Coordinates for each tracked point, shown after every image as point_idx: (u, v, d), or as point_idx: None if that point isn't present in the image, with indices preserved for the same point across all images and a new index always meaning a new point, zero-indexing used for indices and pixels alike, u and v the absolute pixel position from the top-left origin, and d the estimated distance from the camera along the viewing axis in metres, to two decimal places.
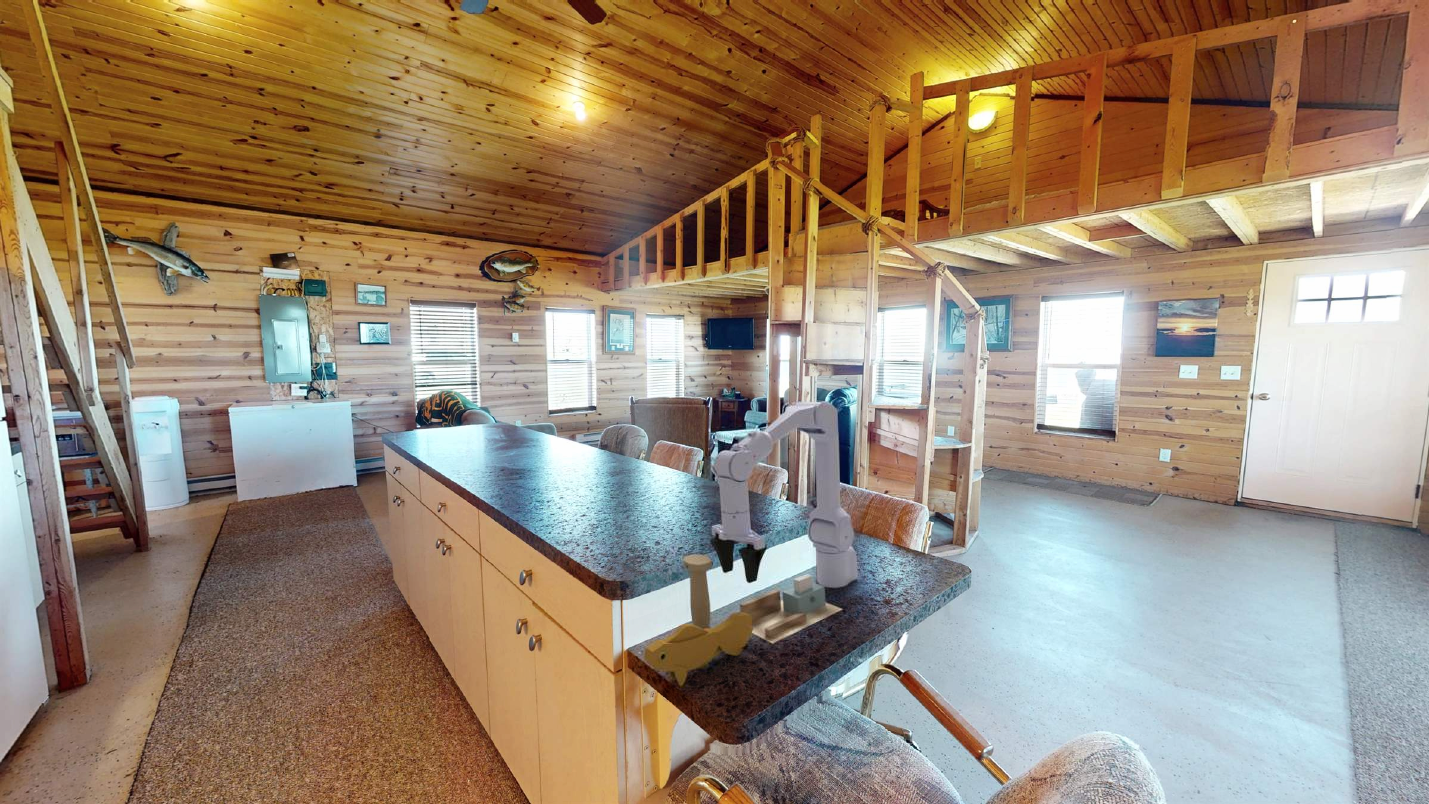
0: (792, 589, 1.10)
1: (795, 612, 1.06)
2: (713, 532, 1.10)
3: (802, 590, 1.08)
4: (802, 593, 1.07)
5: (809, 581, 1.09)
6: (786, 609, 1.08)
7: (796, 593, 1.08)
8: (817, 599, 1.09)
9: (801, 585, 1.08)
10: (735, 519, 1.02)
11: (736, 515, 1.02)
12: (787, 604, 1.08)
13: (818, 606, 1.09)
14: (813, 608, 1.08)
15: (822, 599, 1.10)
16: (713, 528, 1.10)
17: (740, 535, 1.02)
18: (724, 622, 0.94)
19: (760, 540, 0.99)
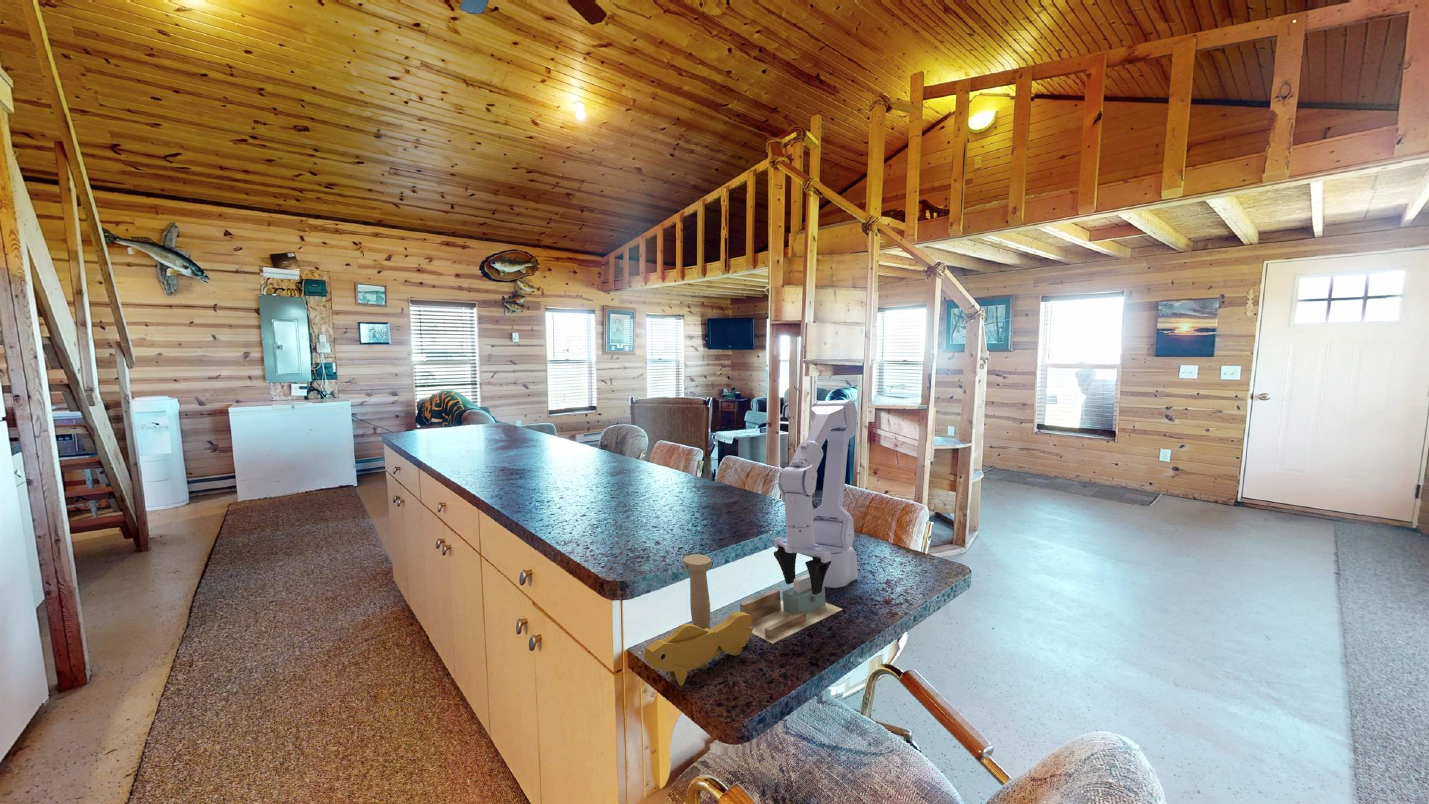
0: (792, 589, 1.10)
1: (795, 612, 1.06)
2: (775, 545, 1.14)
3: (802, 590, 1.08)
4: (802, 593, 1.07)
5: (809, 581, 1.09)
6: (786, 609, 1.08)
7: (796, 593, 1.08)
8: (817, 599, 1.09)
9: (801, 585, 1.08)
10: (801, 533, 1.06)
11: (802, 529, 1.06)
12: (787, 604, 1.08)
13: (818, 606, 1.09)
14: (813, 608, 1.08)
15: (822, 599, 1.10)
16: (775, 541, 1.14)
17: (806, 548, 1.06)
18: (724, 622, 0.94)
19: (827, 554, 1.03)
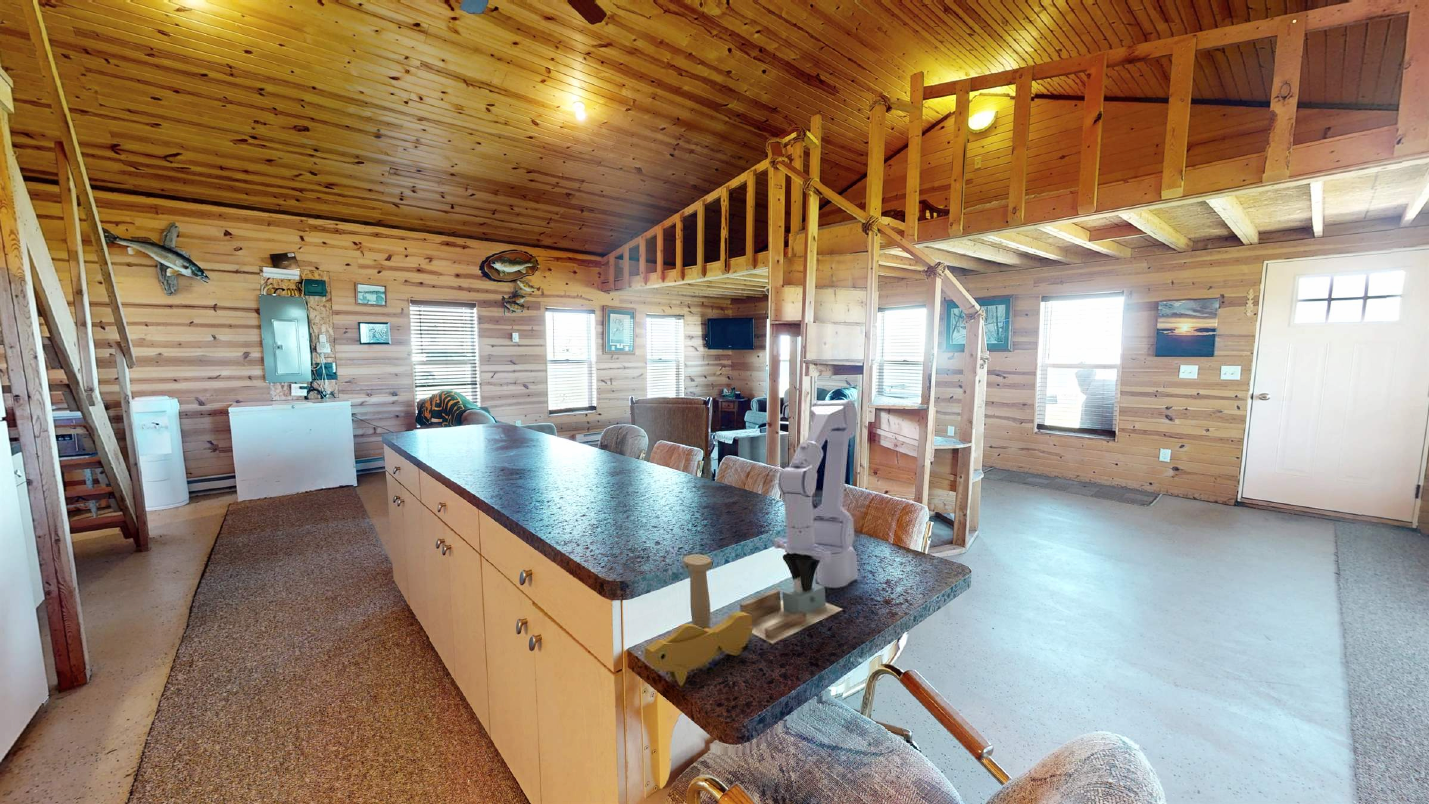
0: (792, 589, 1.10)
1: (795, 612, 1.06)
2: (775, 545, 1.14)
3: (802, 590, 1.08)
4: (802, 593, 1.07)
5: None
6: (786, 609, 1.08)
7: (796, 593, 1.08)
8: (817, 599, 1.09)
9: (801, 585, 1.08)
10: (801, 533, 1.06)
11: (802, 530, 1.06)
12: (787, 604, 1.08)
13: (818, 606, 1.09)
14: (813, 608, 1.08)
15: (822, 599, 1.10)
16: (775, 541, 1.14)
17: (806, 549, 1.06)
18: (724, 622, 0.94)
19: (827, 554, 1.03)
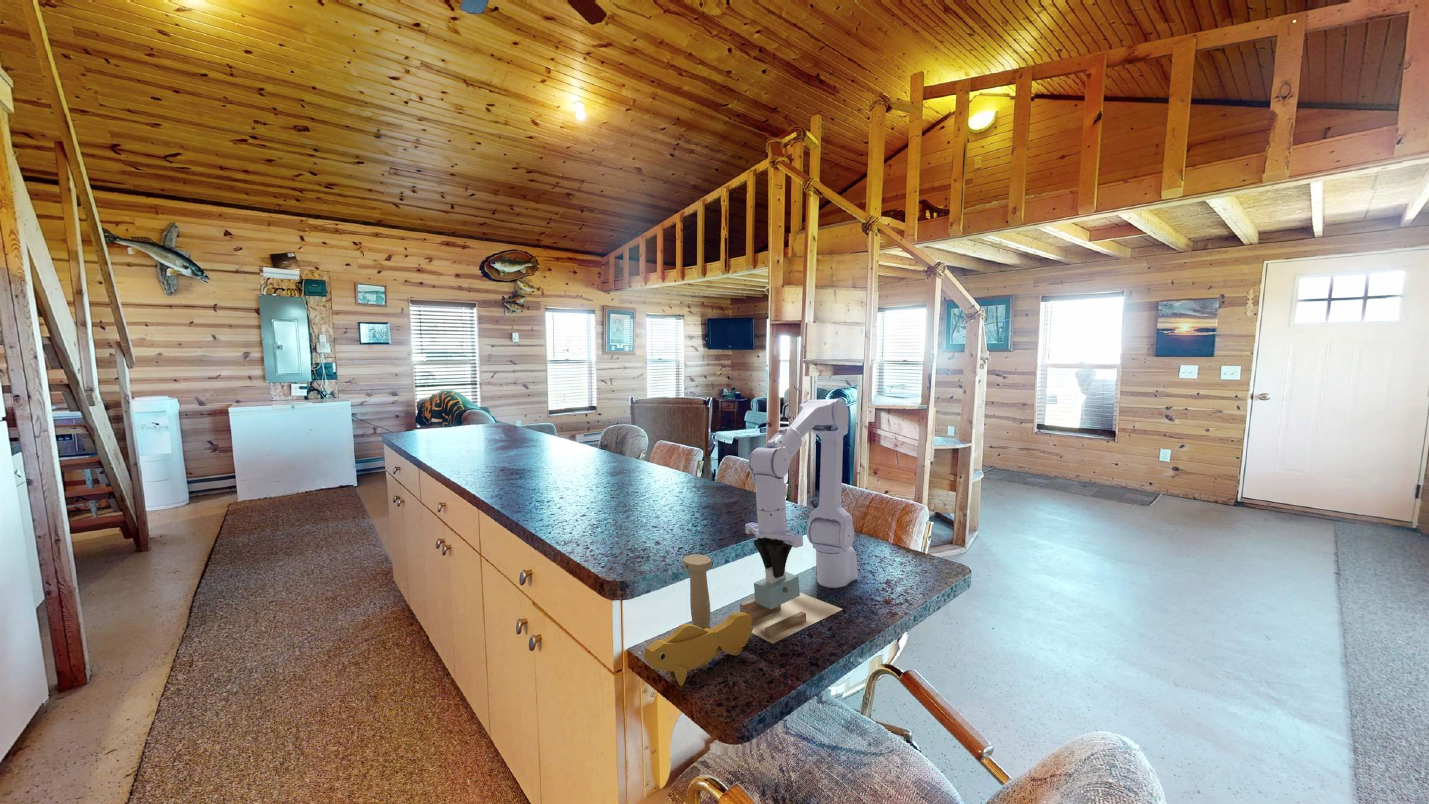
0: (764, 580, 1.04)
1: (767, 604, 1.01)
2: (747, 530, 1.08)
3: (774, 580, 1.03)
4: (773, 584, 1.02)
5: None
6: (758, 601, 1.03)
7: (768, 583, 1.02)
8: (790, 590, 1.03)
9: (773, 575, 1.02)
10: (772, 517, 1.00)
11: (773, 513, 1.00)
12: (759, 596, 1.02)
13: (792, 597, 1.03)
14: (786, 599, 1.02)
15: (796, 589, 1.04)
16: (747, 526, 1.08)
17: (777, 533, 1.01)
18: (724, 622, 0.94)
19: (798, 538, 0.98)
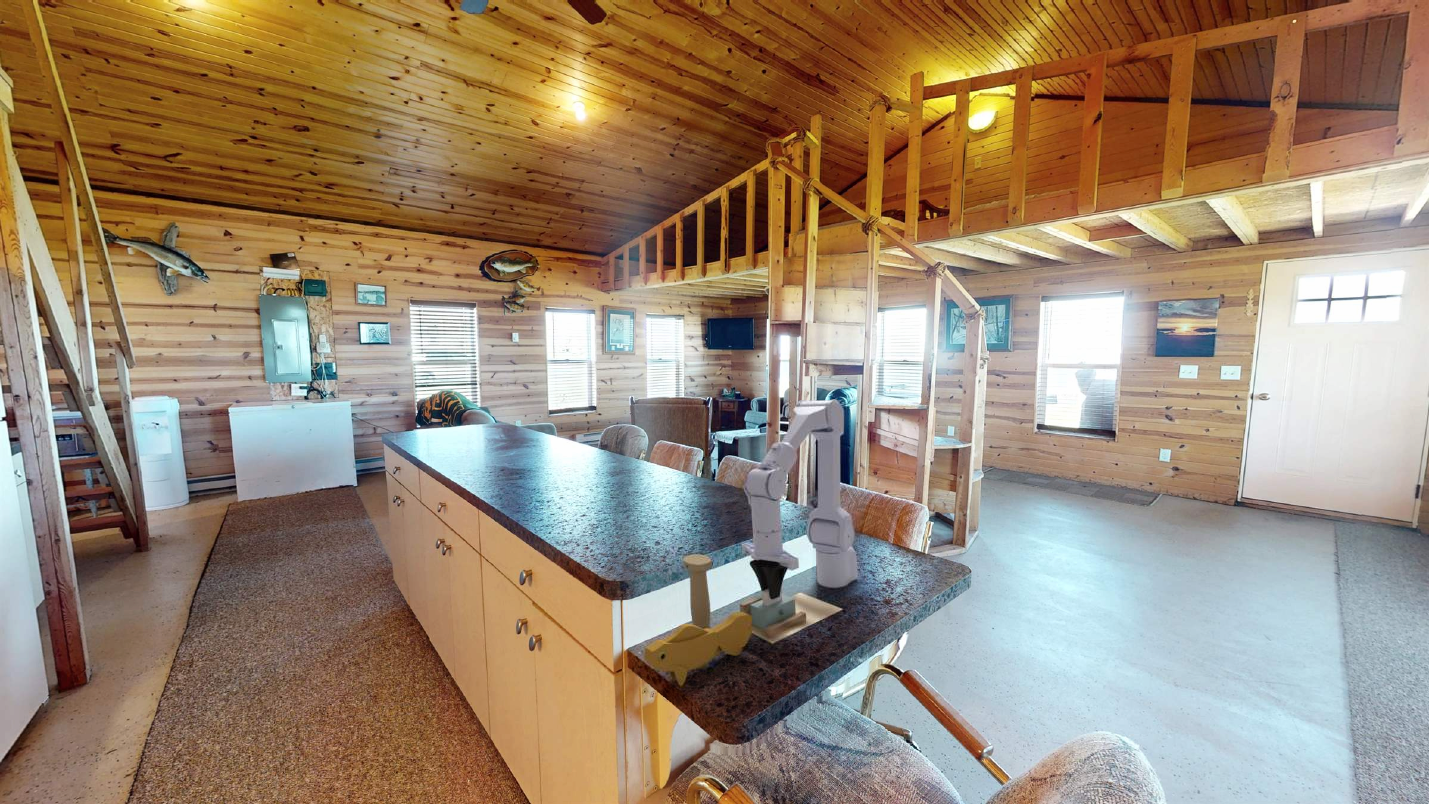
0: (761, 602, 1.04)
1: (763, 626, 1.01)
2: (743, 550, 1.08)
3: (771, 602, 1.03)
4: (770, 606, 1.02)
5: None
6: (754, 623, 1.03)
7: (764, 606, 1.02)
8: (787, 612, 1.03)
9: None
10: (768, 539, 1.01)
11: (769, 535, 1.01)
12: (755, 618, 1.03)
13: None
14: None
15: (792, 612, 1.04)
16: (743, 547, 1.08)
17: (773, 555, 1.01)
18: (724, 622, 0.94)
19: (794, 561, 0.98)
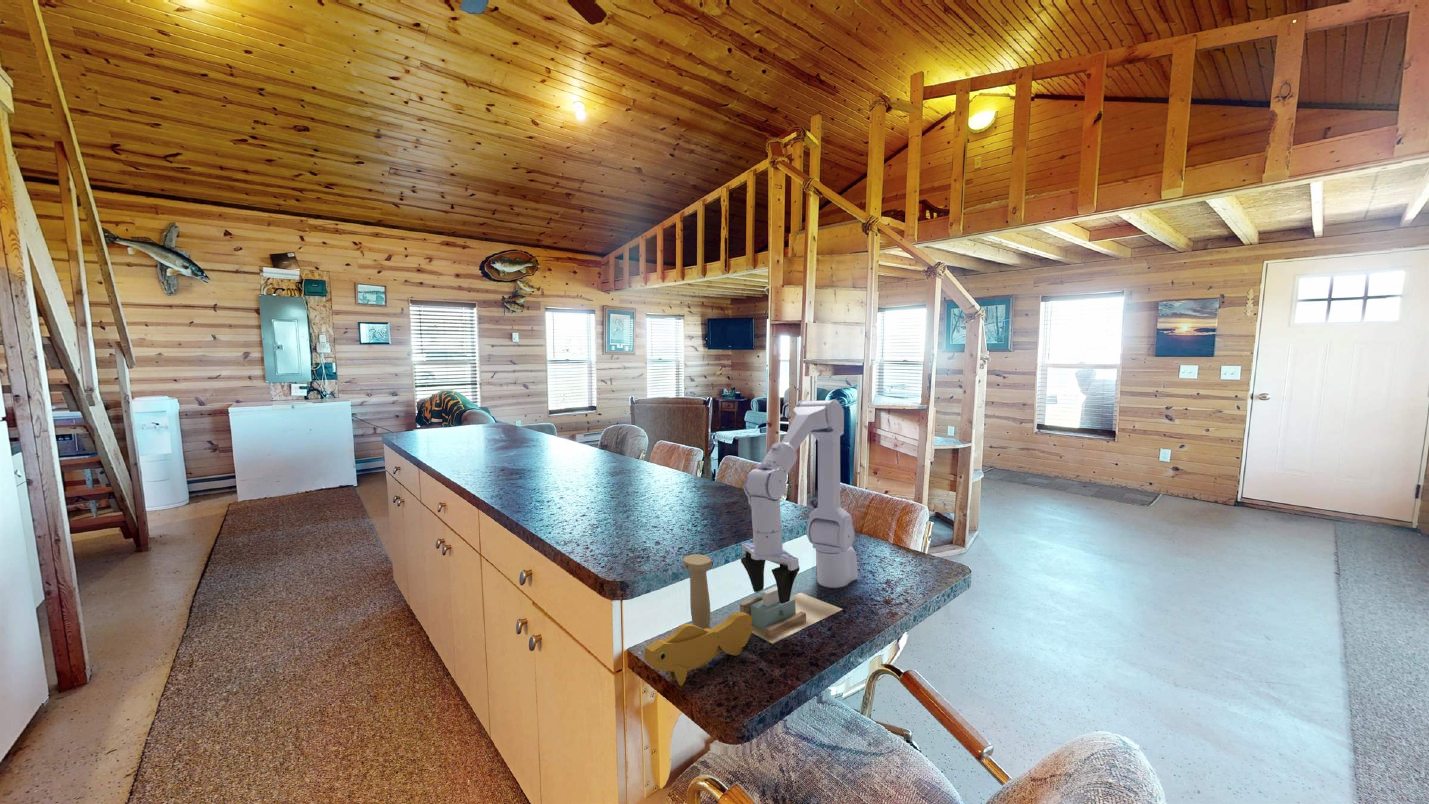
0: (761, 602, 1.04)
1: (763, 627, 1.01)
2: (743, 551, 1.08)
3: (771, 603, 1.03)
4: (770, 606, 1.02)
5: None
6: (754, 623, 1.03)
7: (764, 606, 1.02)
8: (787, 612, 1.03)
9: (770, 598, 1.03)
10: (768, 539, 1.01)
11: (769, 535, 1.01)
12: (755, 618, 1.03)
13: None
14: None
15: (792, 612, 1.04)
16: (743, 547, 1.08)
17: (773, 555, 1.01)
18: (724, 622, 0.94)
19: (794, 561, 0.98)
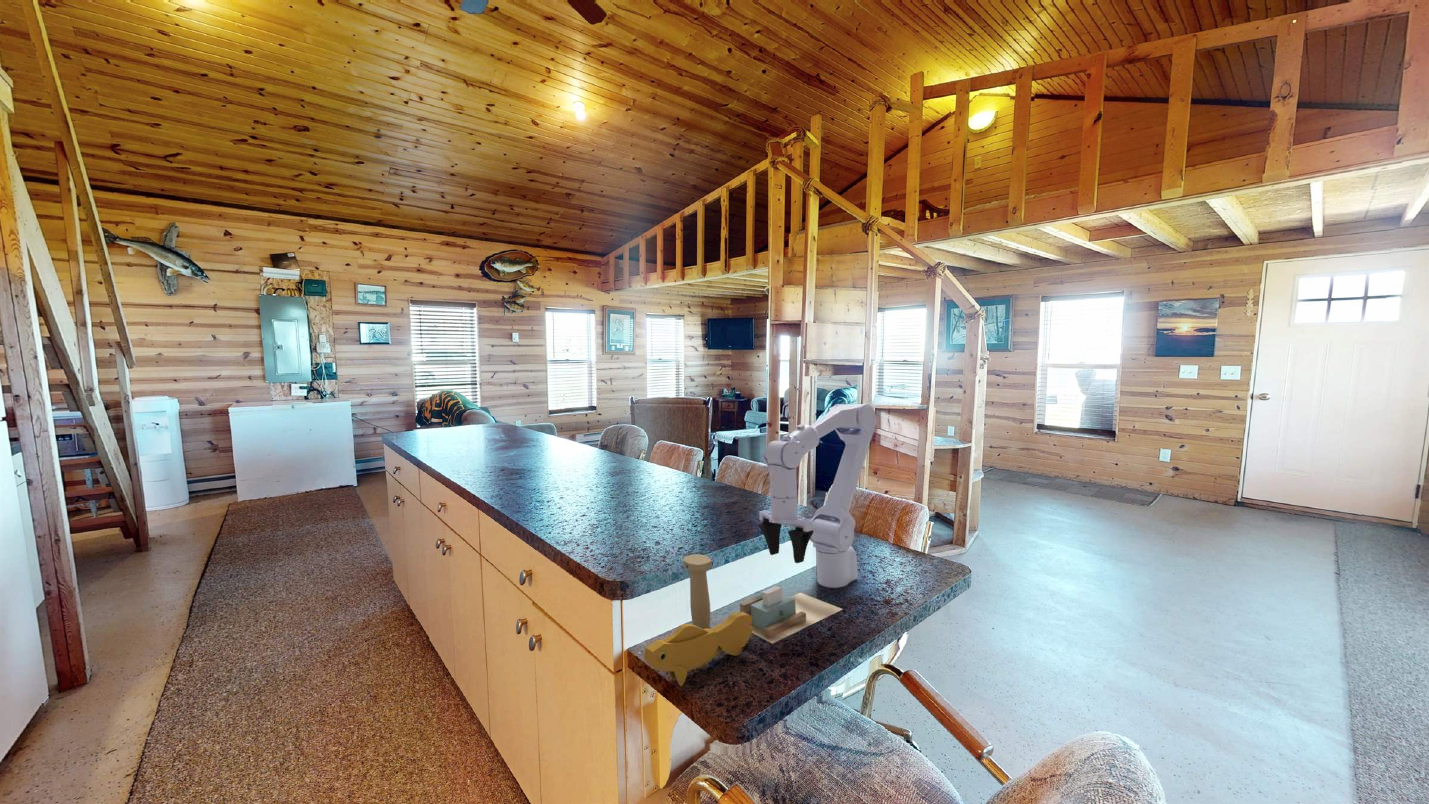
0: (761, 602, 1.04)
1: (763, 627, 1.01)
2: (761, 517, 1.18)
3: (771, 603, 1.03)
4: (770, 606, 1.02)
5: (779, 593, 1.04)
6: (754, 623, 1.03)
7: (764, 606, 1.02)
8: (787, 612, 1.03)
9: (770, 598, 1.03)
10: (785, 504, 1.10)
11: (786, 500, 1.10)
12: (755, 618, 1.03)
13: None
14: None
15: (792, 612, 1.04)
16: (761, 513, 1.18)
17: (789, 519, 1.10)
18: (724, 622, 0.94)
19: (809, 523, 1.07)
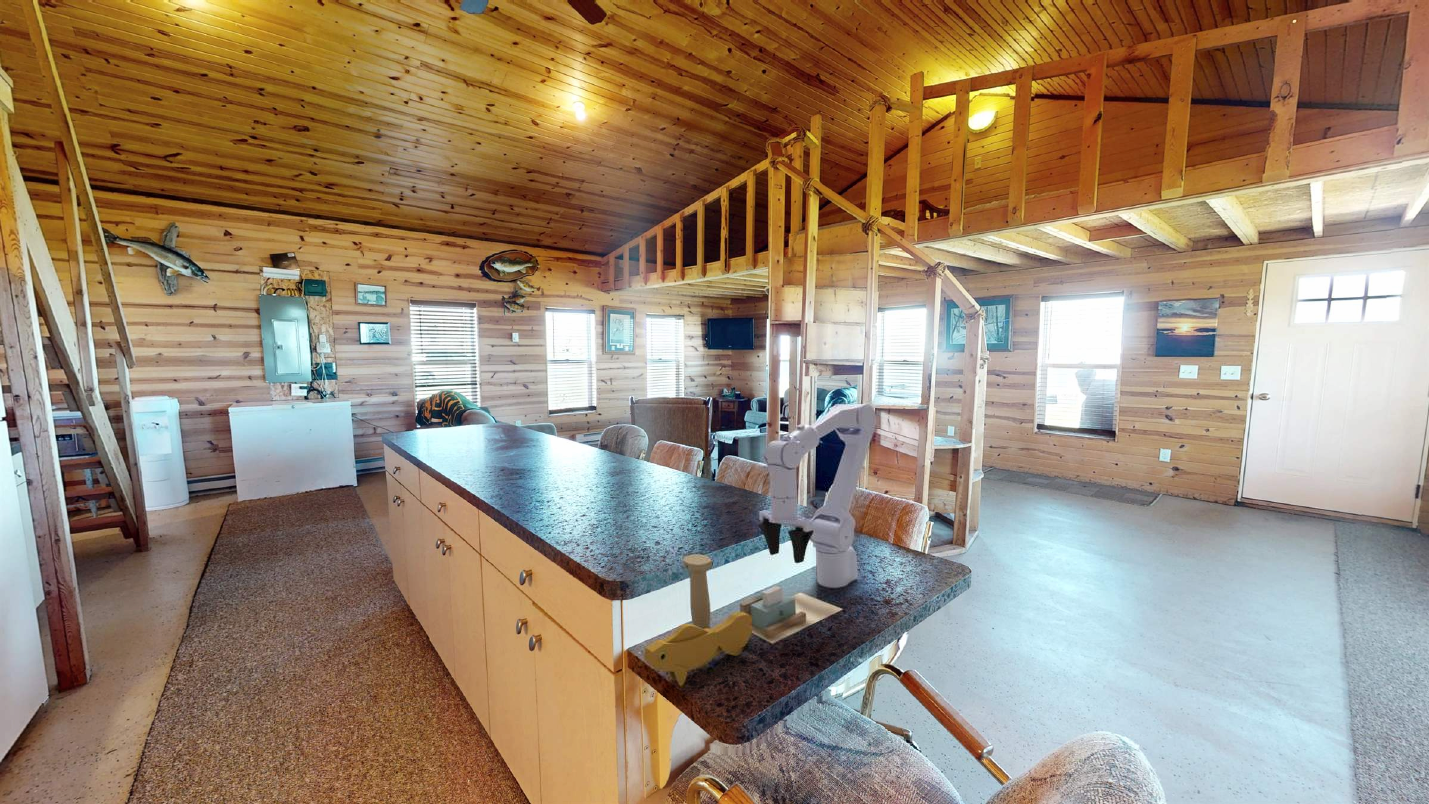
0: (761, 602, 1.04)
1: (763, 627, 1.01)
2: (761, 517, 1.18)
3: (771, 603, 1.03)
4: (770, 606, 1.02)
5: (779, 593, 1.04)
6: (754, 623, 1.03)
7: (764, 606, 1.02)
8: (787, 612, 1.03)
9: (770, 598, 1.03)
10: (785, 504, 1.10)
11: (786, 500, 1.10)
12: (755, 618, 1.03)
13: None
14: None
15: (792, 612, 1.04)
16: (761, 513, 1.18)
17: (789, 519, 1.10)
18: (724, 622, 0.94)
19: (809, 523, 1.07)
